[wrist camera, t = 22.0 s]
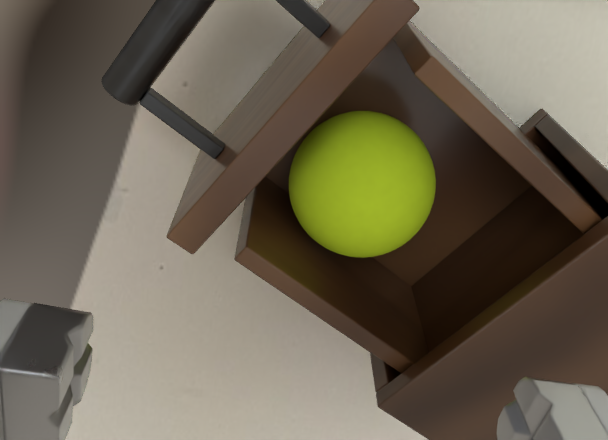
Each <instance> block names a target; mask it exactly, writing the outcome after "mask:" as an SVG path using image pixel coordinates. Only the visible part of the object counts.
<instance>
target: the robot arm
mask: <svg viewBox="0 0 608 440" xmlns="http://www.w3.org/2000/svg"><path fill="white" fill-rule="evenodd" d="M92 332H93V315H92V313H90V312H84V311H78V310H72V309H67V308H61V307H54V306H49V305H43V304H37V303H34V304H33V303H27V302H22V301H16V300H11V299H3V300H1V301H0V440H65V438H66V436H67V433H68V431H69V428H70V426H71V424H72V409H73V406H74V405H76V404H77V403H79V402H80V401H81V399H82V396H83V393H84V391H85V388H86V385H87V381H88V377H89V373H90V368H91V362H92V348H91V346H90V345H89V344H88V341H89V339H90V336H91V334H92ZM513 391H514V394H515V398H516V400H514V401H513V402H511V403H509V404H507V405H506V406H504V408H503V410H502V412H501V414H500V416H499V418H498V424H497V440H608V396H607V394H606V392H605V391H603V390H602V389H601V388H600V387H598V386H591V385H584V384H576V383H573V384H571V383H566V382H559V381H552V380H545V379H537V378H530V377H524V378H523V379H521V380H520V381H518V383H517V385H516V387H515V388H514V390H513Z"/></svg>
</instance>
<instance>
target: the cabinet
mask: <svg viewBox="0 0 608 440" xmlns="http://www.w3.org/2000/svg"><path fill="white" fill-rule="evenodd" d="M519 129H520V130H522V131H523V132H524V133H525V134H526V135H527V136H528V137H529V138H530V139H531V140H532V141H533V142H534V143H535V144H536V145H537V146H538V147H539V148H540V149H541V150H542V151H543V152H544V153H545V154H546V155H547V156H548V157H549V158H550V159H551V160H552V161H553V162H554V163H555V164H556V165H557V166H558V167H559V168H560V169H561V170H562V171H563V172H564V173H565V174H566V175H567V177H568V178H569V179H570V180H571V181H572V182H573V183H574V184H575V185H576V187H577V188H578V189H579V190H580V191H581V192H582V193H583V194H584V195H585V197H586V198H587V199H588V200H589V201H590V202H591V203H592V204H593V205H594V207H595V208H596V209H597V210H598V211H599V212H600V213H601V214H602V215H603V217H604V218H605V219H603V220H602V221H601V222H599V223H598V224H597V225H595V226H594V227H593V228H591V229H590V230H589V231H588V232H586V233H585V234H584V235H582V236H581V237H580V238H578V239H577V240H576V241H574V242H573V243H572V244H570V245H569V246H568V247H567V248H565V249H564V250H563V251H561V252H560V253H559V254H557V255H556V256H555V257H553V258H552V259H551V260H550V261H548V262H547V263H546V264H544V265H543V266H542V267H540V268H539V269H538V270H536V271H535V272H534V273H532V274H531V275H530V276H529V277H527V278H526V279H525V280H523V281H522V282H521V283H519V284H518V285H517V286H515V287H514V288H513V289H512V290H510V291H509V292H508V293H506V294H505V295H504V296H502V297H501V298H500V299H498V300H497V301H496V302H494V303H493V304H492V305H491V306H489V307H488V308H487V309H485V310H484V311H483V312H481V313H480V314H479V315H477V316H476V317H475V318H474V319H472V320H471V321H470V322H468V323H467V324H466V325H464V326H463V327H462V328H460V329H459V330H458V331H456V332H455V333H454V334H453V335H451V336H450V337H449V338H447V339H446V340H445V341H443V342H442V343H441V344H439V345H438V346H437V347H436V348H434V349H433V350H432V351H430V352H429V353H428V354H426V355H425V356H424V357H422V358H421V359H420V360H418V361H417V362H416V363H415V364H413V365H412V366H411V367H409V368H408V369H407V370H405V371H404V372H403V373H400V372H399V371H397V370H396V369H394V368H393V367H391V366H390V365H388V364H387V363H385V362H384V361H382V360H381V359H379V358H378V357H376V356H375V355H374V354H372V353H371V352H370V356H371V363H372V370H373V377H374V384H375V391H376V398H377V405H378V407H379V408H380V409H382V410H383V411H385V412H387V413H388V414H390V415H391V416H393V417H394V418H396V419H398V420H399V421H401V422H402V423H404V424H405V425H407V426H408V427H410V428H412V429H413V430H415V431H416V432H418V433H419V434H421V435H422V436H424V437H426V438H427V439H429V440H497V424H498V418H499V416H500V414H501V412H502V410H503V408H504V406H506V405H507V404H509V403H511V402H513V401H514V400H516V398H515V394H514V391H513V390H514V388H515V387H516V385H517V383H518V381H520V380H521V379H523V378H524V377H530V378H537V379H545V380H552V381H559V382H566V383H571V384H573V383H576V384H584V385H591V386H598V387H600V388H601V389H602V390H603V391H605V392H606V394H607V396H608V170H607V169H606V168H605V167H604V166H603V165H602V164H601V163H600V162H599V161H598V160H596V159H595V158H594V157H593V156H592V155H591V154H590V153H589V152H588V151H587V150H586V149H585V148H584V147H583V146H582V145H581V144H579V143H578V142H577V141H576V140H575V139H574V138H573V137H572V136H571V135H570V134H569V133H568V132H567V131H566V130H565V129H563V128H562V127H561V126H560V125H559V124H558V123H557V122H556V121H555V120H554V119H553V118H552V117H551V116H550V115H549V114H548V113H547V112H545V111H544V110H543V109H540V110H539V111H538V112H537V113H536V114H535V115H534V116H533V117H531V118H530V119H529V120H528V121H527V122H526V123H525V124H524V125H522V126H521V127H520V128H519Z"/></svg>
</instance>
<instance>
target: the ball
mask: <svg viewBox="0 0 608 440" xmlns="http://www.w3.org/2000/svg"><path fill="white" fill-rule="evenodd" d="M435 189H436V177H435V170H434V166H433V162H432V159H431V157H430V154H429V152H428V150H427V148H426V146H425V145H424V143H423V142H422V140H421V139H420V138H419V136H418V135H417V134H416V133H415V132H414V131H413V130H412V129H411V128H409V127H408V126H407V125H406V124H404V123H403V122H401V121H399V120H398V119H396V118H393V117H391V116H389V115H386V114H383V113H378V112H373V111H351V112H347V113H343V114H339V115H337V116H334V117H332V118H330V119H328V120H326V121H324V122H323V123H321V124H320V125H318V126H317V127H316V128H315V129H313V130H312V131H311V132H310V133H309V135H308V136H307V137H306V138H305V139H304V140H303V142H302V143H301V145H300V146H299V148H298V150H297V152H296V154H295V156H294V158H293V161H292V164H291V168H290V174H289V196H290V201H291V205H292V208H293V211H294V213H295V215H296V217H297V219H298V221H299V223H300V224H301V226H302V227H303V229H304V230H305V231H306V232H307V234H308V235H309V236H310V237H311V238H312V239H314V240H315V241H316V242H317V243H318V244H320V245H322V246H323V247H325V248H327V249H328V250H330V251H333V252H335V253H338V254H341V255H345V256H350V257H363V258H364V257H373V256H378V255H383V254H386V253H388V252H391V251H393V250H395V249H397V248H399V247H400V246H402V245H404V244H405V243H406V242H408V241H409V240H410V239H411V238H412V237H413V236H414V235H415V234H416V233H417V232H418V231H419V230H420V228H421V227H422V226H423V224H424V223H425V221H426V219H427V217H428V215H429V214H430V211H431V208H432V205H433V202H434V197H435Z"/></svg>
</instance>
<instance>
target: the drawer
mask: <svg viewBox="0 0 608 440" xmlns="http://www.w3.org/2000/svg"><path fill="white" fill-rule="evenodd" d="M214 1H215V0H156V2H155V3H154V4H153V6H152V7H151V9H150V10H149V11H148V13H147V14H146V16H145V17H144V19H143V20H142V22H141V23H140V24H139V26H138V27H137V29H136V30H135V32H134V33H133V34H132V36H131V37H130V39H129V40H128V42H127V43H126V45H125V46H124V47H123V49H122V50H121V52H120V53H119V55H118V56H117V57H116V59H115V60H114V62H113V63H112V65H111V66H110V67H109V69H108V70H107V72H106V73H105V75H104V76H103V77H102V84H103V87H104V88H105V90H106V91H107V92H108V93H109V94H110V95H111V96H113V97H114V98H115V99H117V100H118V101H120V102H122V103H124V104H127V105H130V106H134V105H137V104H138V103H139V102H140V105H142V106H143V107H144V108H146V109H147V110H149V111H150V112H151V113H153V114H154V115H155V116H157V117H158V118H159V119H161V120H162V121H163V122H165V123H166V124H167V125H169V126H170V127H171V128H173V129H174V130H175V131H177V132H178V133H179V134H181V135H182V136H184V137H185V138H186V139H188V140H189V141H190V142H192V143H193V144H194V145H196V146H197V147H198V148H200V149H201V150H200V152H199V154H198V157H197V159H196V162H195V164H194V167H193V170H192V172H191V175H190V177H189V180H188V182H187V185H186V188H185V190H184V193H183V195H182V198H181V200H180V203H179V205H178V208H177V211H176V213H175V216H174V218H173V221H172V223H171V226H170V228H169V231H168V234H167V238H168V239H170V240H171V241H173V242H174V243H176V244H177V245H179V246H180V247H182V248H183V249H185V250H186V251H188V252H189V253H191V254H194V253H195V252H196V251H197V250H198V249H199V248H200V247H201V246H202V244H203V243H204V242H205V241H206V240H207V239H208V238H209V237H210V236H211V235H212V234H213V233H214V231H215V230H216V229H217V228H218V227H219V226H220V225H221V224H222V223H223V222H224V221H225V220H226V218H227V217H228V216H229V215H230V214H231V213H232V212H233V211H234V210H235V209H236V208H237V207H238V205H239V204H240V203H241V202H242V201H243V200H244V199H245V198H246V199H245V204H244V210H243V215H242V220H241V226H240V231H239V236H238V242H237V247H236V253H235V258H234V259H235V261H237V262H238V263H240V264H241V265H243V266H244V267H246V268H247V269H249V270H250V271H252V272H253V273H255V274H256V275H258V276H259V277H260V278H262V279H263V280H265V281H266V282H268V283H269V284H271V285H272V286H274V287H275V288H277V289H278V290H280V291H281V292H282V293H284V294H285V295H287V296H288V297H290V298H291V299H293V300H294V301H296V302H297V303H299V304H300V305H302V306H303V307H305V308H306V309H307V310H309V311H310V312H312V313H313V314H315V315H316V316H318V317H319V318H321V319H322V320H324V321H325V322H327V323H328V324H329V325H331V326H332V327H334V328H335V329H337V330H338V331H340V332H341V333H343V334H344V335H346V336H347V337H349V338H350V339H352V340H353V341H354V342H356V343H357V344H359V345H360V346H362V347H363V348H365V349H366V350H368V351H369V352H371V353H372V354H374V355H375V356H376V357H378V358H379V359H381V360H382V361H384V362H385V363H387V364H388V365H390V366H391V367H393V368H394V369H396V370H397V371H399V372H400V373H403V372H404V371H405V370H407V369H408V368H409V367H411V366H412V365H413V364H415V363H416V362H417V361H418V360H420V359H421V358H422V357H424V356H425V355H426V354H428V353H429V352H430V351H432V350H433V349H434V348H436V347H437V346H438V345H439V344H441V343H442V342H443V341H445V340H446V339H447V338H449V337H450V336H451V335H453V334H454V333H455V332H456V331H458V330H459V329H460V328H462V327H463V326H464V325H466V324H467V323H468V322H470V321H471V320H472V319H474V318H475V317H476V316H477V315H479V314H480V313H481V312H483V311H484V310H485V309H487V308H488V307H489V306H491V305H492V304H493V303H494V302H496V301H497V300H498V299H500V298H501V297H502V296H504V295H505V294H506V293H508V292H509V291H510V290H512V289H513V288H514V287H515V286H517V285H518V284H519V283H521V282H522V281H523V280H525V279H526V278H527V277H529V276H530V275H531V274H532V273H534V272H535V271H536V270H538V269H539V268H540V267H542V266H543V265H544V264H546V263H547V262H548V261H550V260H551V259H552V258H553V257H555V256H556V255H557V254H559V253H560V252H561V251H563V250H564V249H565V248H567V247H568V246H569V245H570V244H572V243H573V242H574V241H576V240H577V239H578V238H580V237H581V236H582V235H584V234H585V233H586V232H588V231H589V230H590V229H591V228H593V227H594V226H595V225H597V224H598V223H599V222H601V221H602V220H603V219H605V218H604V217H603V215H602V214H601V213H600V212H599V211H598V210H597V209H596V208H595V207H594V205H593V204H592V203H591V202H590V201H589V200H588V199H587V198H586V197H585V195H584V194H583V193H582V192H581V191H580V190H579V189H578V188H577V187H576V185H575V184H574V183H573V182H572V181H571V180H570V179H569V178H568V177H567V175H566V174H565V173H564V172H563V171H562V170H561V169H560V168H559V167H558V166H557V165H556V164H555V163H554V162H553V161H552V160H551V159H550V158H549V157H548V156H547V155H546V154H545V153H544V152H543V151H542V150H541V149H540V148H539V147H538V146H537V145H536V144H535V143H534V142H533V141H532V140H531V139H530V138H529V137H528V136H527V135H526V134H525V133H524V132H523V131H522V130H520V129H519V128H518V127H517V126H516V125H515V124H514V123H513V122H512V121H511V120H510V119H509V118H508V117H507V116H506V115H505V114H504V113H503V112H502V111H501V110H500V109H499V108H498V107H497V106H496V105H495V104H494V103H493V102H492V101H491V100H490V99H489V98H488V97H487V96H486V95H485V94H484V93H483V92H482V91H481V90H480V89H479V88H478V87H477V86H476V85H475V84H474V83H473V82H471V81H470V80H469V79H468V78H467V77H466V76H465V75H464V74H463V73H462V72H461V71H460V70H459V69H458V68H457V67H456V66H455V65H454V64H453V63H452V62H451V61H450V60H449V59H448V58H447V57H446V56H445V55H444V54H443V53H442V52H441V51H440V50H439V49H438V48H437V47H436V46H435V45H434V44H433V43H432V42H431V41H430V40H429V39H428V38H427V37H426V36H425V35H424V34H422V33H421V32H420V31H419V30H418V29H417V28H416V27H415V26H414V25H413V24H412V23H411V22H410V21H409V20H410V19H411V18H412V17H413V16H414V15H415V14H416V13H417V12H418V11H419V9H420V8H419V6H418V5H417V4H416V3H415V2H414V1H413V0H325V2H324V3H323V4H322V5H321V6H320V8H319V9H318V10H316V9H315V8H314V7H313V6H312V5H311V4H309V3H308V2H307V1H306V0H276V1H277V2H278V3H279V4H280V5H282V6H283V7H284V8H285V9H286V10H287V11H288V12H289V13H290V14H292V15H293V16H294V17H295V18H296V19H297V20H298V21H299V22H301V23H302V24H303V25H304V27H303V28H302V29H301V30H300V32H299V33H298V34H297V35H296V36H295V37H294V39H293V40H292V41H291V42H290V43H289V45H288V46H287V47H286V48H285V49H284V51H283V52H282V53H281V54H280V55H279V57H278V58H277V59H276V60H275V61H274V63H273V64H272V65H271V66H270V67H269V68H268V70H267V71H266V72H265V73H264V74H263V76H262V77H261V78H260V79H259V80H258V82H257V83H256V84H255V85H254V86H253V88H252V89H251V90H250V91H249V92H248V94H247V95H246V96H245V97H244V98H243V100H242V101H241V102H240V103H239V104H238V105H237V107H236V108H235V109H234V110H233V111H232V113H231V114H230V115H229V116H228V117H227V119H226V120H225V121H224V122H223V123H222V125H221V126H220V127H219V128H218V129H217V131H216V132H215V133H214V134H212V133H210V132H209V131H208V130H206V129H205V128H204V127H202V126H201V125H200V124H198V123H197V122H196V121H195V120H193V119H192V118H191V117H189V116H188V115H187V114H185V113H184V112H183V111H181V110H180V109H179V108H177V107H176V106H175V105H174V104H172V103H171V102H170V101H168V100H167V99H166V98H164V97H163V96H162V95H160V94H159V93H158V92H156V91H155V90H154V89H152V88H150V87H151V86H152V85H153V83H154V82H155V81H156V79H157V78H158V77H159V75H160V74H161V72H162V71H163V70H164V68H165V67H166V66H167V64H168V63H169V62H170V60H171V59H172V58H173V56H174V55H175V54H176V52H177V51H178V50H179V48H180V47H181V46H182V44H183V43H184V42H185V40H186V39H187V38H188V36H189V35H190V34H191V32H192V31H193V30H194V28H195V27H196V26H197V24H198V23H199V22H200V20H201V19H202V18H203V16H204V15H205V13H206V12H207V11H208V9H209V8H210V7H211V5H212V4H213V3H214ZM351 111H373V112H378V113H383V114H386V115H389V116H391V117H393V118H396V119H398V120H399V121H401V122H403V123H404V124H406V125H407V126H408V127H409V128H411V129H412V130H413V131H414V132H415V133H416V134H417V135H418V136H419V138H420V139H421V140H422V142H423V143H424V145H425V146H426V148H427V150H428V152H429V154H430V157H431V159H432V162H433V166H434V170H435V177H436V189H435V197H434V202H433V205H432V208H431V211H430V214H429V215H428V217H427V219H426V221H425V223H424V224H423V226H422V227H421V228H420V230H419V231H418V232H417V233H416V234H415V235H414V236H413V237H412V238H411V239H410V240H409V241H408V242H406V243H405V244H404V245H402V246H400V247H399V248H397V249H395V250H393V251H391V252H388V253H386V254H383V255H378V256H373V257H364V258H363V257H350V256H345V255H341V254H338V253H335V252H333V251H330V250H328V249H327V248H325V247H323V246H322V245H320V244H318V243H317V242H316V241H315V240H314V239H312V238H311V237H310V236H309V235H308V234H307V232H306V231H305V230H304V229H303V227H302V226H301V224H300V223H299V221H298V219H297V217H296V215H295V213H294V211H293V208H292V205H291V201H290V196H289V174H290V168H291V164H292V161H293V158H294V156H295V154H296V152H297V150H298V148H299V146H300V145H301V143H302V142H303V140H304V139H305V138H306V137H307V136H308V135H309V133H310V132H311V131H312V130H313V129H315V128H316V127H317V126H318V125H320V124H321V123H323V122H324V121H326V120H328V119H330V118H332V117H334V116H337V115H339V114H343V113H347V112H351Z"/></svg>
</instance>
